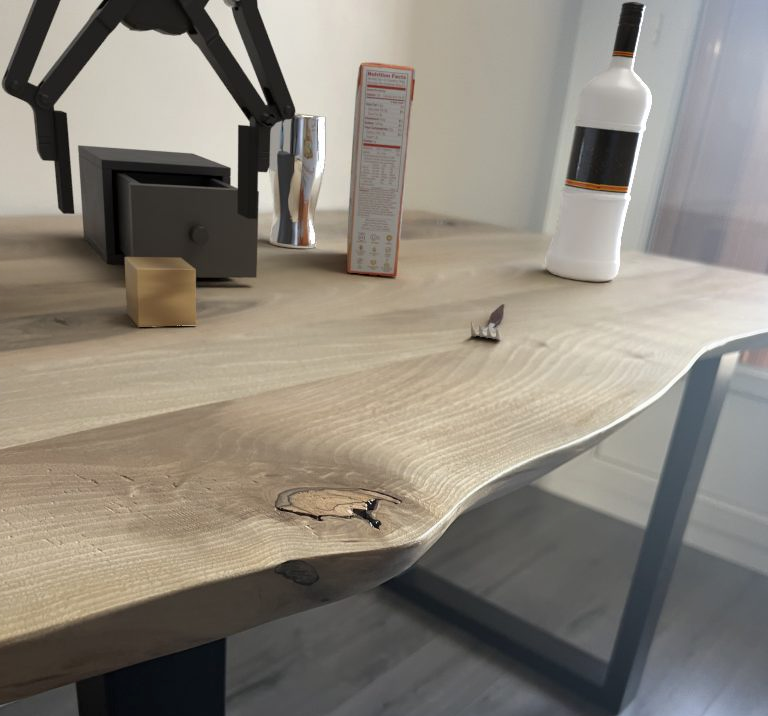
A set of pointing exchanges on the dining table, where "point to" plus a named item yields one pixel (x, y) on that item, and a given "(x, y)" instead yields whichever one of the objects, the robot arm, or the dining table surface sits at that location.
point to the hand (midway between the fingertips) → (161, 214)
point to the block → (160, 291)
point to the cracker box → (379, 167)
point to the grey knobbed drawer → (184, 222)
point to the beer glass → (296, 179)
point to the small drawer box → (100, 190)
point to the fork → (491, 324)
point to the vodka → (602, 163)
